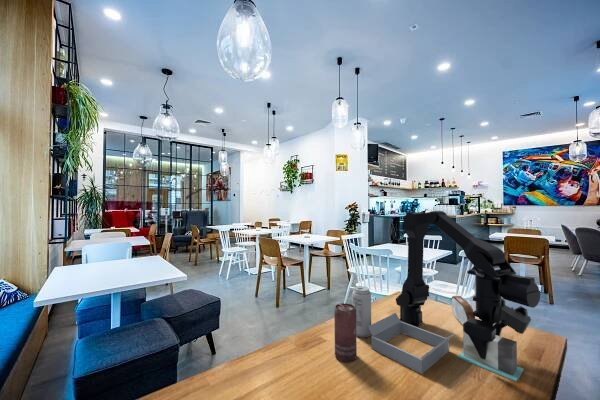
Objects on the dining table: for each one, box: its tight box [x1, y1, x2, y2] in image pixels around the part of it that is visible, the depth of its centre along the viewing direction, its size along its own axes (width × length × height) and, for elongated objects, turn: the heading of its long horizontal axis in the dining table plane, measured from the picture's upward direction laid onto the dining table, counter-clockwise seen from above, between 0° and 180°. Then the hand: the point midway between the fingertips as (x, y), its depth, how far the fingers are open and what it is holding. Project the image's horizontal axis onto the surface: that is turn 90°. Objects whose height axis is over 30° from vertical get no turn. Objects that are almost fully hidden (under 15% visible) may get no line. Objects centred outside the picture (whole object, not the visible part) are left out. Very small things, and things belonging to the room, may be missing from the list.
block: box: [462, 330, 518, 375], centre depth 71 cm, size 11×4×7 cm, turn 39°
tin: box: [450, 295, 476, 327], centre depth 95 cm, size 15×3×8 cm, turn 168°
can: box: [333, 303, 358, 363], centre depth 75 cm, size 6×6×14 cm
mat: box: [457, 351, 525, 382], centre depth 71 cm, size 13×7×1 cm, turn 39°
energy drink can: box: [351, 285, 372, 338], centre depth 88 cm, size 6×6×15 cm
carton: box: [368, 312, 455, 375], centre depth 78 cm, size 19×16×6 cm
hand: (488, 352), depth 71 cm, fingers open, 9 cm apart
